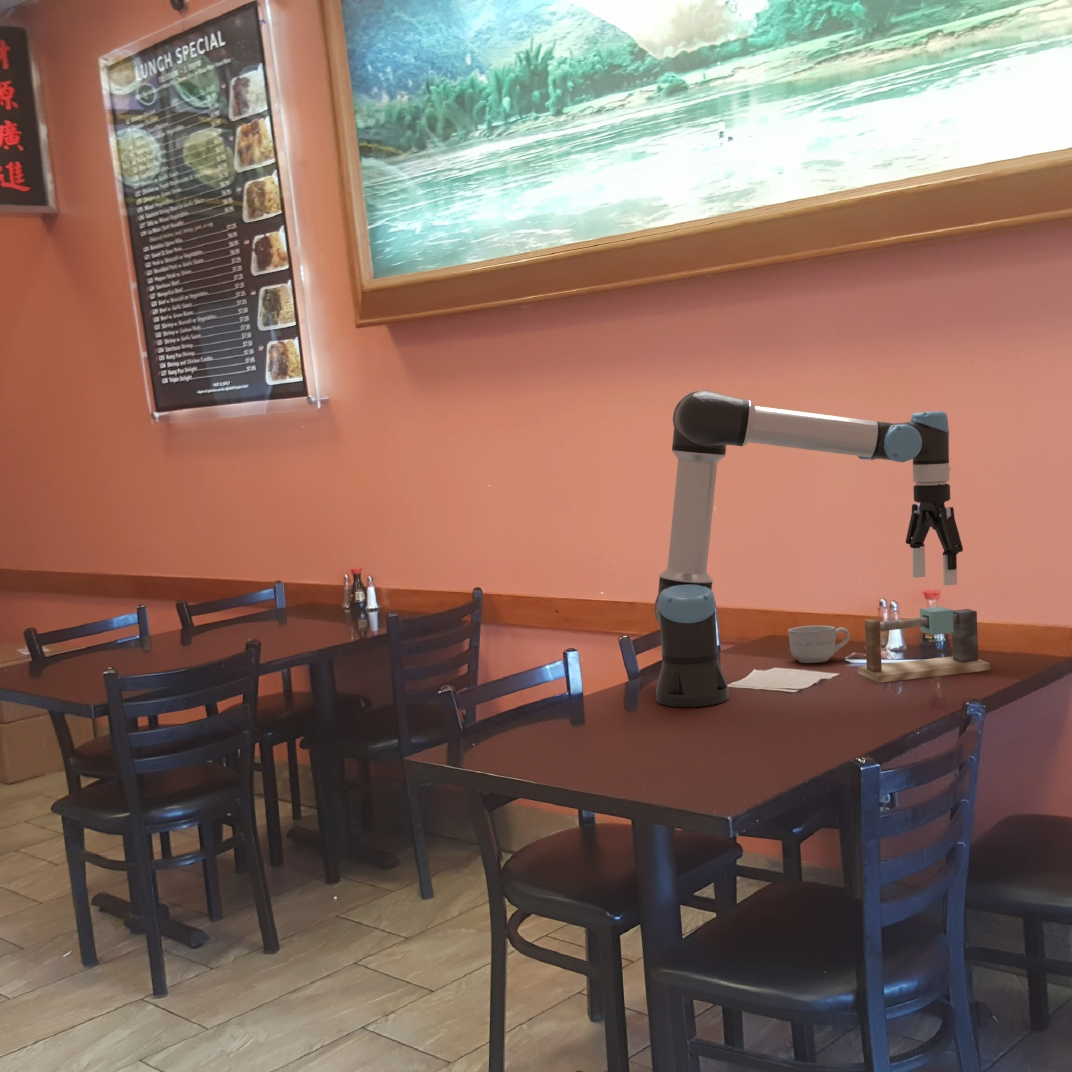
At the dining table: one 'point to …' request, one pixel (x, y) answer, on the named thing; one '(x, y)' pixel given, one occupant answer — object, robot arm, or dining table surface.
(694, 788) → the dining table surface
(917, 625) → the rod stand
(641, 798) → the dining table surface
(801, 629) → the teacup
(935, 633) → the sleeve
